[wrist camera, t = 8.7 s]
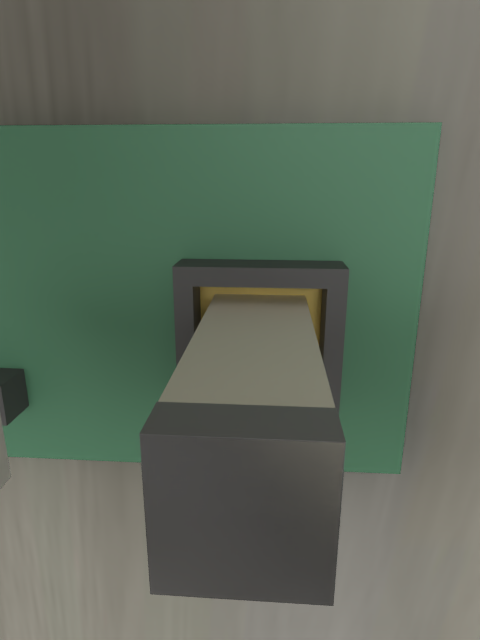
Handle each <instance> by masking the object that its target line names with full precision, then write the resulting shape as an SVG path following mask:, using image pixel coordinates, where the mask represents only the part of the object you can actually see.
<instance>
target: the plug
mask: <svg viewBox="0 0 480 640" xmlns="http://www.w3.org/2000/svg"><path fill="white" fill-rule="evenodd" d="M139 437H140V451H141V466H142V480H143V494H144V509H145V523H146V538H147V552H148V567H149V581H150V594H155V595H171V596H187V597H202V598H218V599H233V600H249V601H264V602H280V603H295V604H311V605H326V606H333V604H334V591H335V578H336V565H337V552H338V539H339V526H340V513H341V501H342V488H343V475H344V462H345V449H346V440H345V437H344V433H343V429H342V426H341V422H340V418H339V415H338V411H337V408H335V404H334V401H333V397H332V393H331V389H330V386H329V382H328V378H327V375H326V371H325V367H324V363H323V360H322V356H321V352H320V348H319V345H318V341H317V337H316V334H315V330H314V326H313V322H312V319H311V315H310V311H309V307H308V304H307V300H306V296H305V295H255V294H215V295H214V297H213V299H212V301H211V303H210V305H209V306H208V308H207V310H206V312H205V314H204V316H203V318H202V320H201V322H200V323H199V325H198V327H197V329H196V331H195V333H194V335H193V337H192V338H191V340H190V342H189V344H188V346H187V348H186V350H185V352H184V354H183V355H182V357H181V359H180V361H179V363H178V365H177V367H176V369H175V370H174V372H173V374H172V376H171V378H170V380H169V382H168V384H167V386H166V387H165V389H164V391H163V393H162V395H161V397H160V399H159V401H158V402H156V404H155V406H154V407H153V409H152V411H151V413H150V415H149V417H148V419H147V420H146V422H145V424H144V426H143V428H142V430H141V432H140V434H139Z"/></svg>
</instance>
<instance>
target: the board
mask: <svg viewBox="0 0 480 640" xmlns="http://www.w3.org/2000/svg"><path fill="white" fill-rule="evenodd" d="M441 126H442V122H437V123H290V124H143V125H0V416H1V421H2V427H3V432H4V438H5V443H6V449H7V455H8V457H29V458H52V459H74V460H97V461H119V462H141V451H140V437H139V434H140V432H141V430H142V428H143V426H144V424H145V422H146V420H147V419H148V417H149V415H150V413H151V411H152V409H153V407H154V406H155V404H156V402H158V401H159V399H160V397H161V395H162V393H163V391H164V389H165V387H166V386H167V384H168V382H169V380H170V378H171V376H172V374H173V372H174V370H175V369H176V367H177V365H178V363H179V361H180V359H181V357H182V355H183V354H184V352H185V350H186V348H187V346H188V344H189V342H190V340H191V338H192V337H193V335H194V333H195V331H196V329H197V327H198V325H199V323H200V322H201V320H202V318H203V316H204V314H205V312H206V310H207V308H208V306H209V305H210V303H211V301H212V299H213V297H214V295H215V294H255V295H305V296H306V300H307V304H308V307H309V311H310V315H311V319H312V322H313V326H314V330H315V334H316V337H317V341H318V345H319V348H320V352H321V356H322V360H323V363H324V367H325V371H326V375H327V378H328V382H329V386H330V389H331V393H332V397H333V401H334V404H335V408H337V411H338V415H339V418H340V422H341V426H342V429H343V433H344V437H345V440H346V449H345V462H344V472H366V473H389V474H400V471H401V463H402V455H403V446H404V438H405V429H406V421H407V413H408V404H409V396H410V387H411V379H412V370H413V362H414V354H415V345H416V337H417V328H418V320H419V311H420V303H421V295H422V286H423V278H424V269H425V261H426V252H427V244H428V236H429V227H430V219H431V210H432V202H433V194H434V185H435V177H436V168H437V160H438V151H439V143H440V135H441Z"/></svg>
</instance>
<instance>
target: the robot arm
mask: <svg viewBox="0 0 480 640" xmlns="http://www.w3.org/2000/svg"><path fill="white" fill-rule="evenodd" d="M10 477H11V471H10V466H9V460H8V455H7V449H6V443H5V438H4V432H3V427H2V421H1V416H0V489H1V488H2V487H3V486H4V484H5V483H6V482H7V481H8V480H9V479H10Z"/></svg>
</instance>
